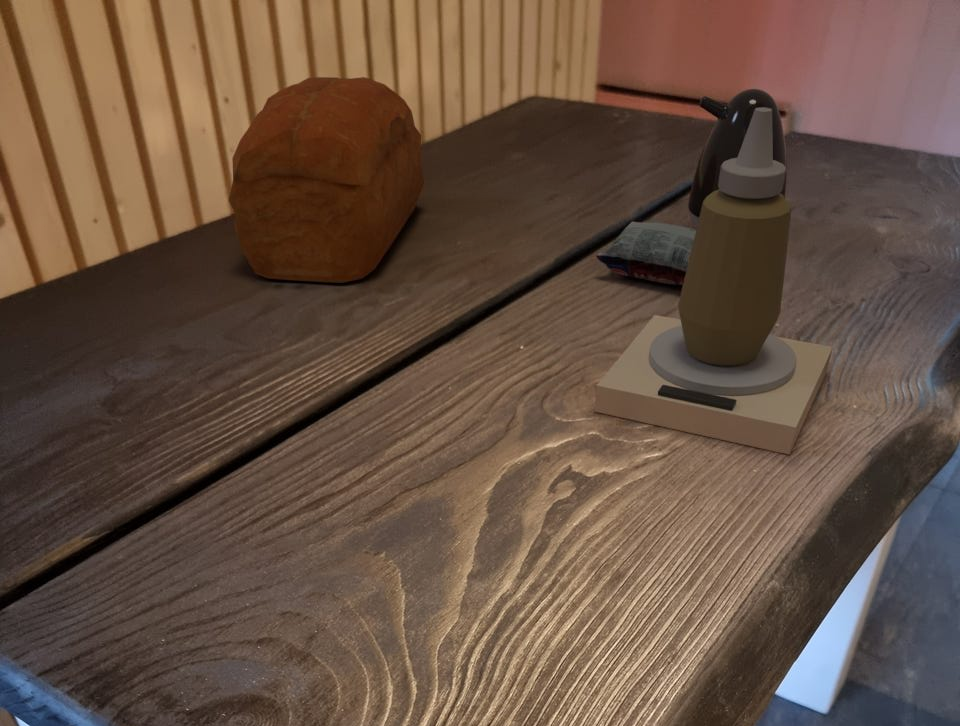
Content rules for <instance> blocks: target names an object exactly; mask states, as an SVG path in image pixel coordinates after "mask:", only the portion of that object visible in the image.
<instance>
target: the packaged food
mask: <svg viewBox="0 0 960 726" xmlns="http://www.w3.org/2000/svg"><path fill="white" fill-rule="evenodd" d="M695 233H696V230H695V229H694V228H692V227H689V226H688V227H687V226H682V225H678V224H671V223H665V222H662V221H643V222H638V221H631V222H630V223H629V224H628V225H627V226H626V227H625V228H624V229H623V231H622V232H621V233H620V234H619V235H618V236H617V237H616V239H615V240H614V241H613V242H612V243H611V244H610V245H609V246H608V247H606V248H604V249H603V250H602V251H600V252H599V253H597V254H596V255H595V257H596V258H597V260H598V261H599V262H601V263H602V264H604V265H605V266H606V268H608V269H609V271H611V272H612V273H613V274H616V275H620V276H625V277H629V278H630V277H631V278H634V279H640V280H646V281H649V282H655V283H659V284H667V285H673V286H683V283H684V279H685V275H686V271H687V267H688V262H689V258H690V254H691V250H692V246H693V242H694V237H695Z"/></svg>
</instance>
